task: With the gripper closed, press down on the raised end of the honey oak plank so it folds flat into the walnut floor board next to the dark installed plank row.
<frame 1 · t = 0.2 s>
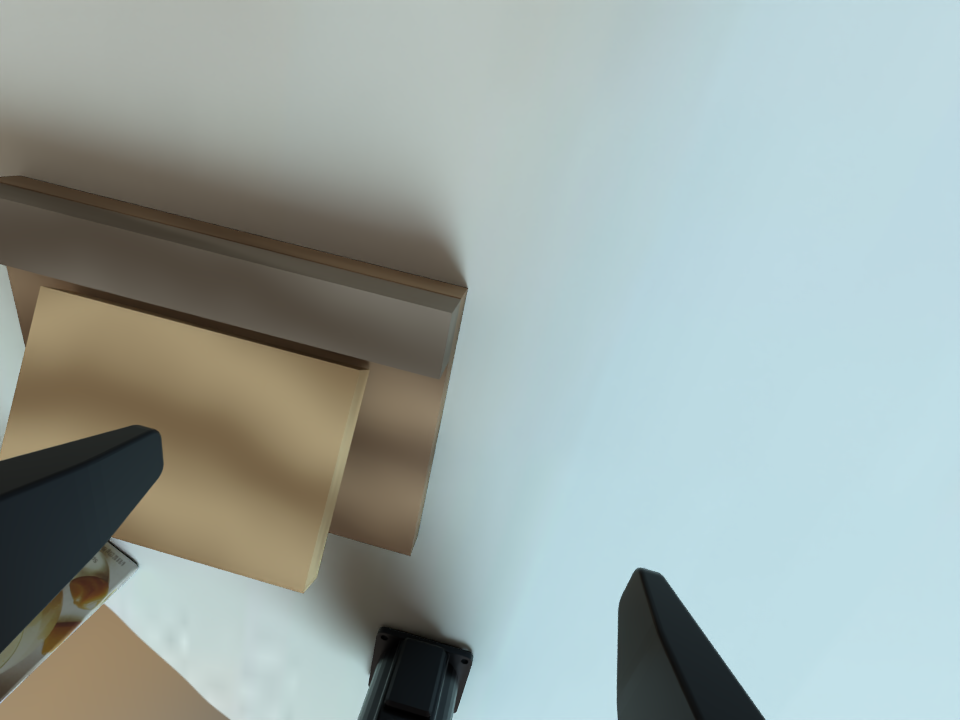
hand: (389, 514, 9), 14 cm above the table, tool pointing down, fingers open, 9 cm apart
oak plank: (181, 434, 22), point 4 cm above the table, hinge at 25.0°
coffee box: (73, 540, 34), on the table
floor board: (240, 375, 26), on the table
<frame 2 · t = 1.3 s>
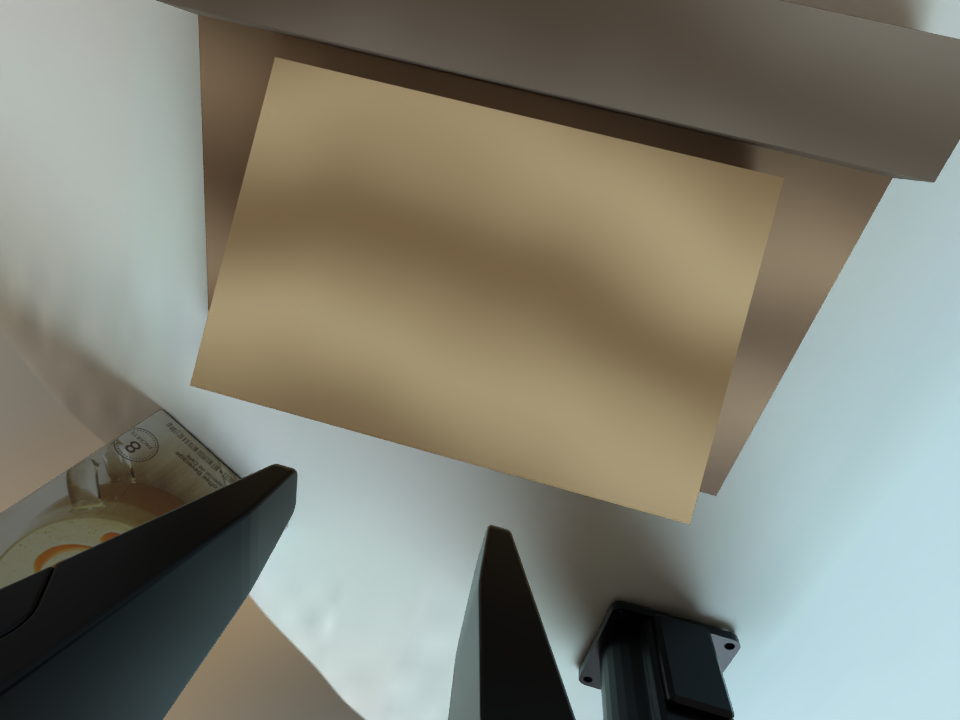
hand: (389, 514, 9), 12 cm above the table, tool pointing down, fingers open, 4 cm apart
oak plank: (478, 289, 15), point 4 cm above the table, hinge at 25.0°
coffee box: (202, 490, 27), on the table
floor board: (502, 235, 18), on the table
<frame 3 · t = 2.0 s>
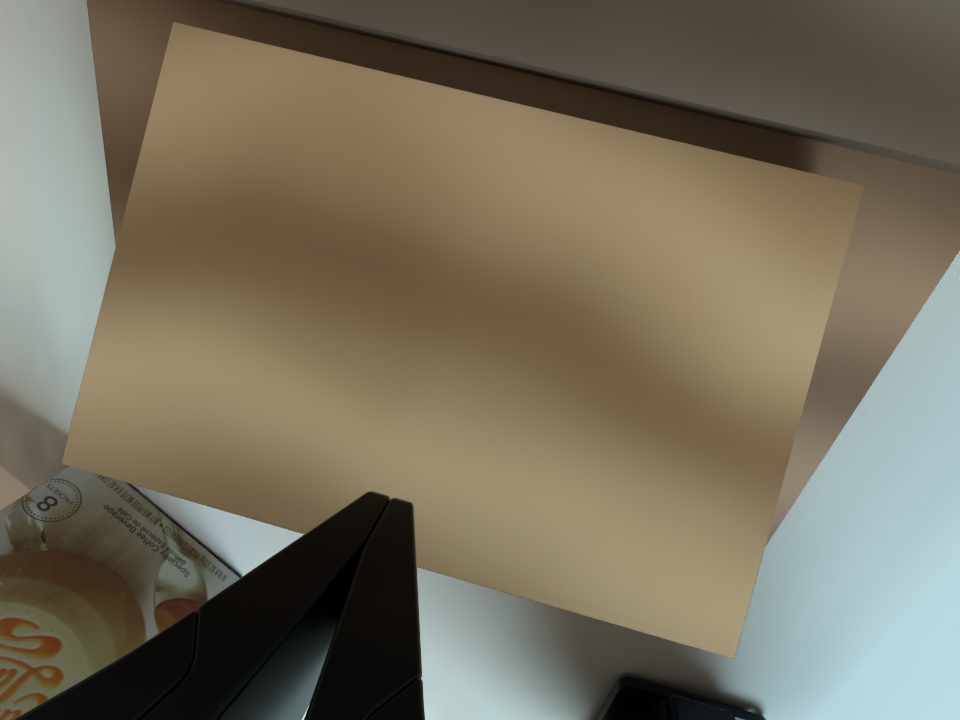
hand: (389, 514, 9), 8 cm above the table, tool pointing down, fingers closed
oak plank: (449, 332, 11), point 4 cm above the table, hinge at 25.0°
coffee box: (144, 542, 23), on the table
floor board: (485, 254, 15), on the table
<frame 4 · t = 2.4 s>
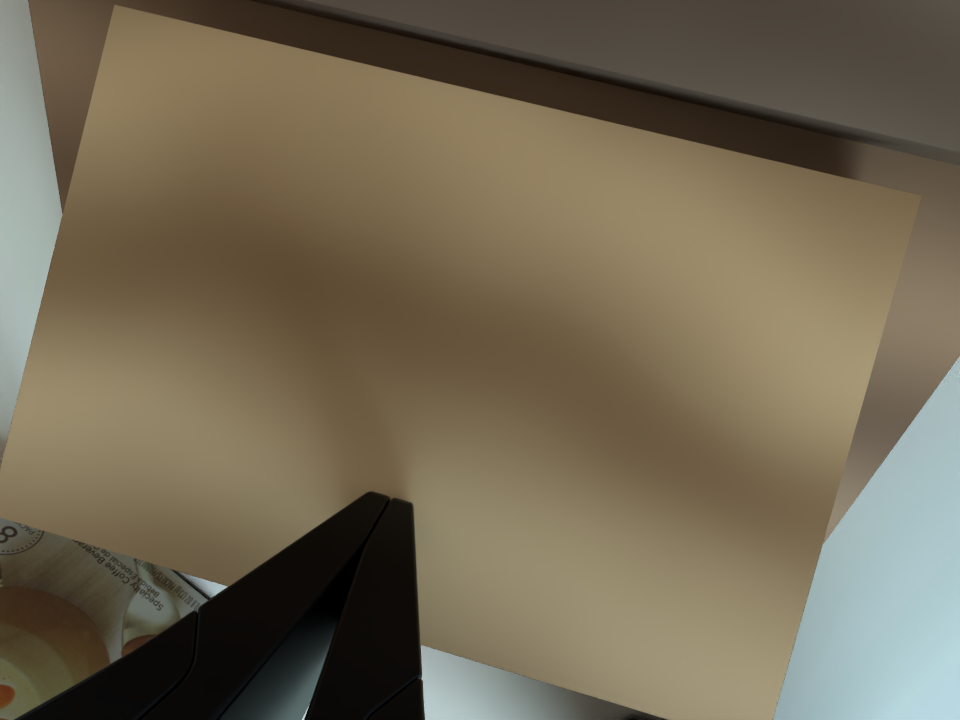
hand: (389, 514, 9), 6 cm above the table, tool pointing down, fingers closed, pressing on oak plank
oak plank: (434, 363, 10), point 4 cm above the table, hinge at 24.5°, touching gripper
coffee box: (117, 569, 22), on the table
floor board: (479, 268, 13), on the table
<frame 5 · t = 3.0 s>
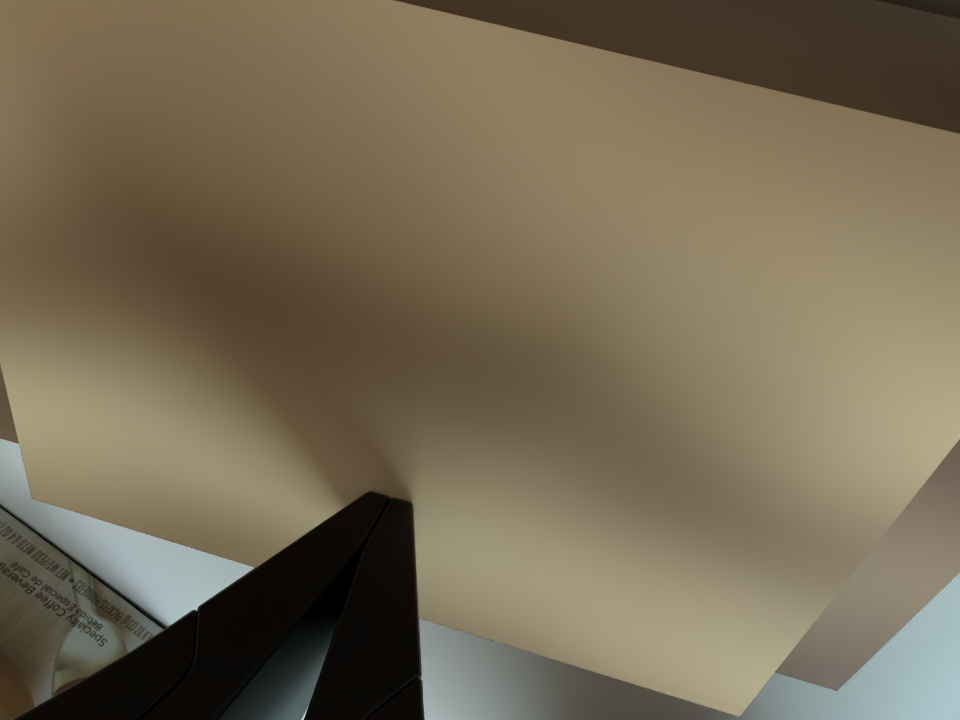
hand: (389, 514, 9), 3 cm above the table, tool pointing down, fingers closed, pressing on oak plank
oak plank: (422, 372, 8), point 3 cm above the table, hinge at 2.7°, touching gripper
coffee box: (62, 592, 19), on the table
floor board: (470, 244, 10), on the table
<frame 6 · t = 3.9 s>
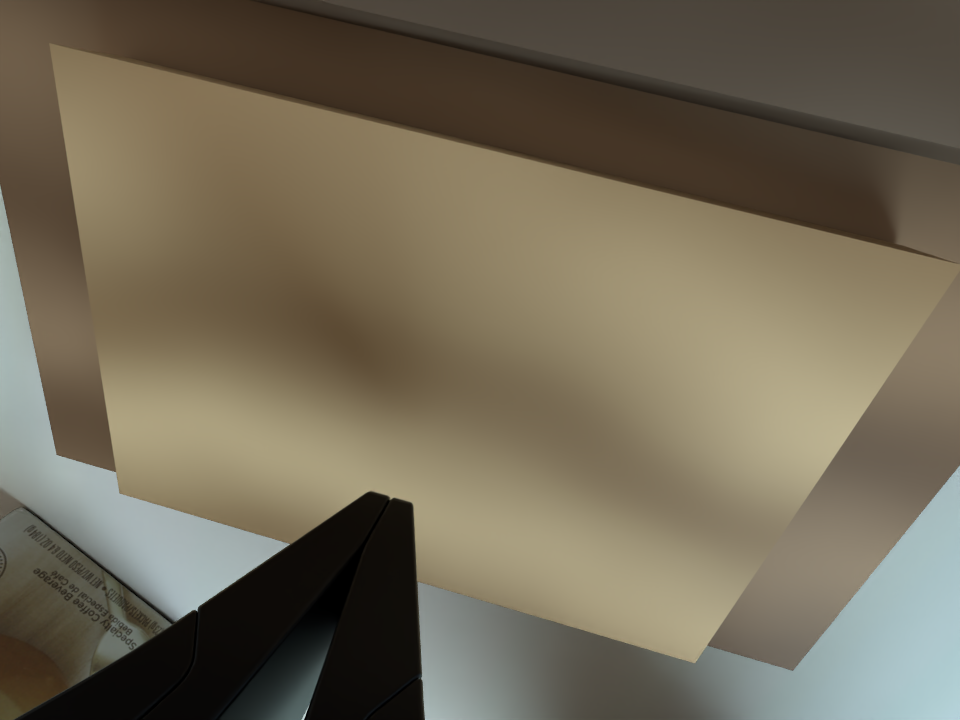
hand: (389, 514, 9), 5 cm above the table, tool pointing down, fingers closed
oak plank: (439, 392, 11), point 2 cm above the table, hinge at -0.5°
coffee box: (90, 602, 20), on the table
floor board: (473, 289, 12), on the table
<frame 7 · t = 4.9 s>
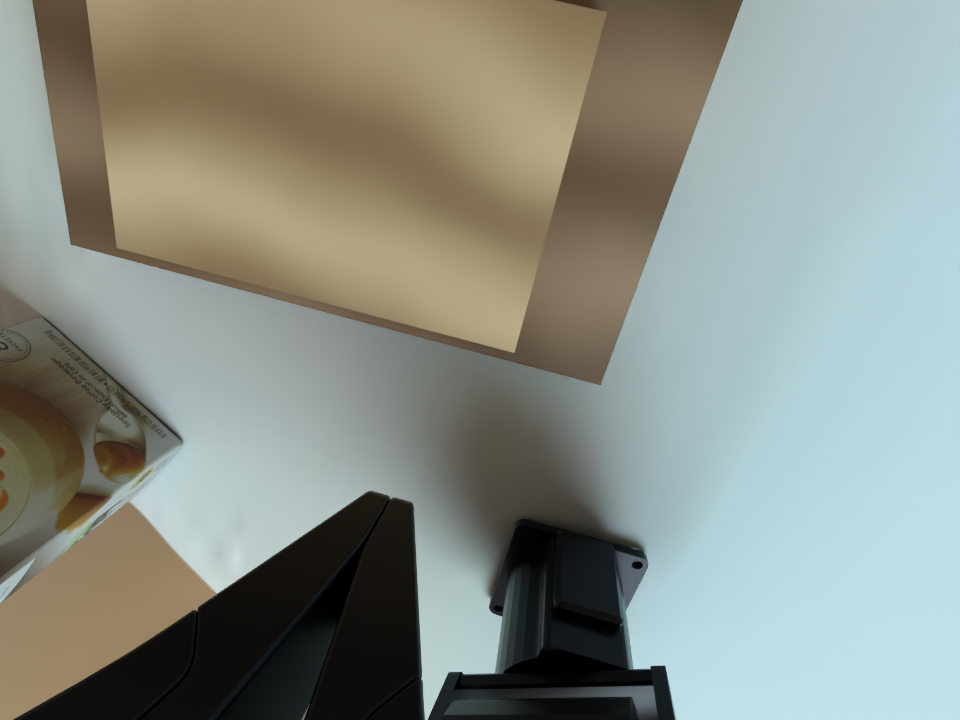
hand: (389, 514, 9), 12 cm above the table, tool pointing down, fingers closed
oak plank: (330, 149, 16), point 2 cm above the table, hinge at -0.5°
coffee box: (94, 410, 26), on the table
floor board: (362, 97, 17), on the table
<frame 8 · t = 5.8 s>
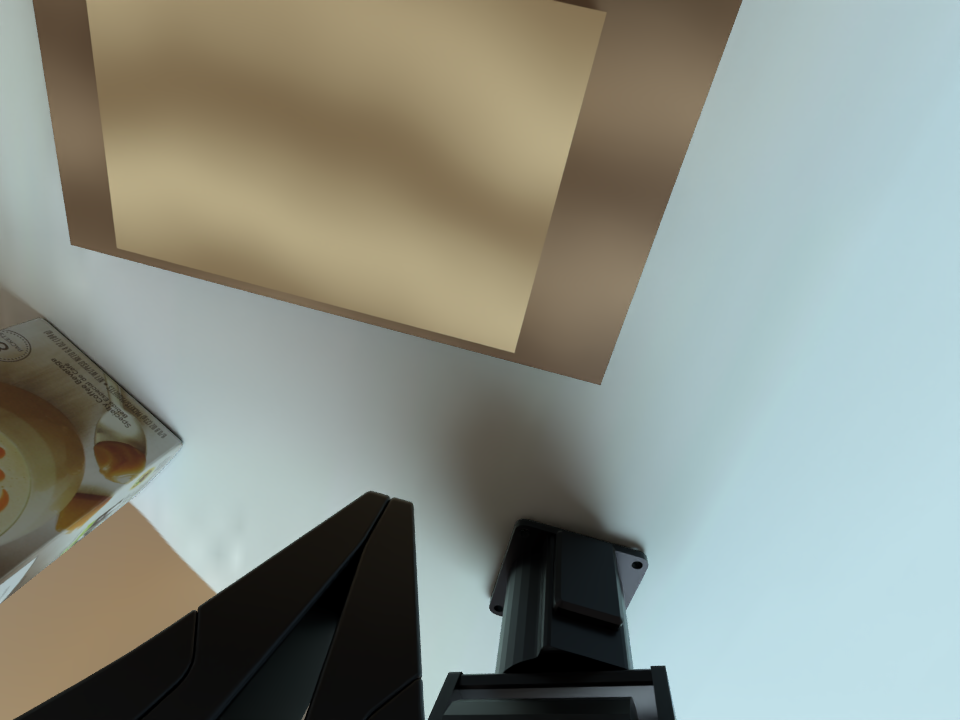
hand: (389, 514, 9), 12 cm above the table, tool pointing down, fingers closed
oak plank: (330, 149, 16), point 2 cm above the table, hinge at -0.5°
coffee box: (94, 410, 26), on the table
floor board: (362, 97, 17), on the table
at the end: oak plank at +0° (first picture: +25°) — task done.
